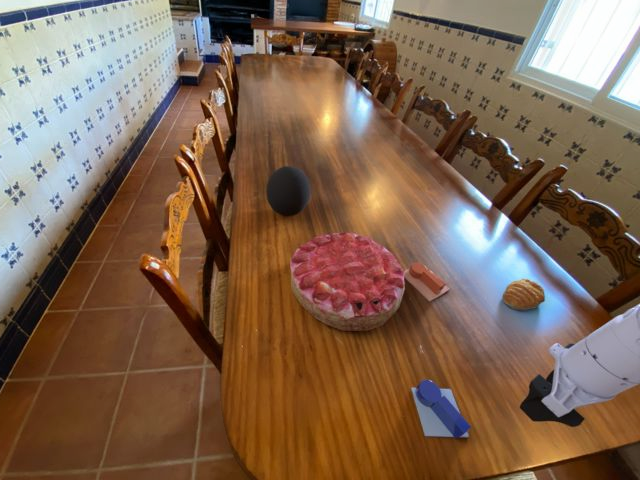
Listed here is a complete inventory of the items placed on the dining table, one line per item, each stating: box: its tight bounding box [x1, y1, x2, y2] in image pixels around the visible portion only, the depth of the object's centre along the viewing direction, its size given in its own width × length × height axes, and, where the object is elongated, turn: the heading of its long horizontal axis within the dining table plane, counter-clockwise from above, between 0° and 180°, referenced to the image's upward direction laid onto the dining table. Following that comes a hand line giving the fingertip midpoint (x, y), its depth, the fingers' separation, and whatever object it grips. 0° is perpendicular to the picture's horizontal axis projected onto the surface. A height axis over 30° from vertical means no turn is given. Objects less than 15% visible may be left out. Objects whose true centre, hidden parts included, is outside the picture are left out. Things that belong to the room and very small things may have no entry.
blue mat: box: [410, 387, 470, 439], centre depth 49 cm, size 7×7×1 cm
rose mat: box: [404, 267, 450, 303], centre depth 71 cm, size 9×7×1 cm
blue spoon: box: [415, 379, 472, 440], centre depth 49 cm, size 8×4×3 cm, turn 30°
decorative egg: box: [265, 165, 312, 217], centre depth 83 cm, size 12×12×15 cm
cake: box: [289, 231, 406, 332], centre depth 66 cm, size 25×25×8 cm
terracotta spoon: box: [408, 261, 447, 295], centre depth 70 cm, size 8×4×3 cm, turn 30°
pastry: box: [502, 278, 546, 311], centre depth 68 cm, size 9×7×4 cm
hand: (540, 398), depth 43 cm, fingers open, 7 cm apart
